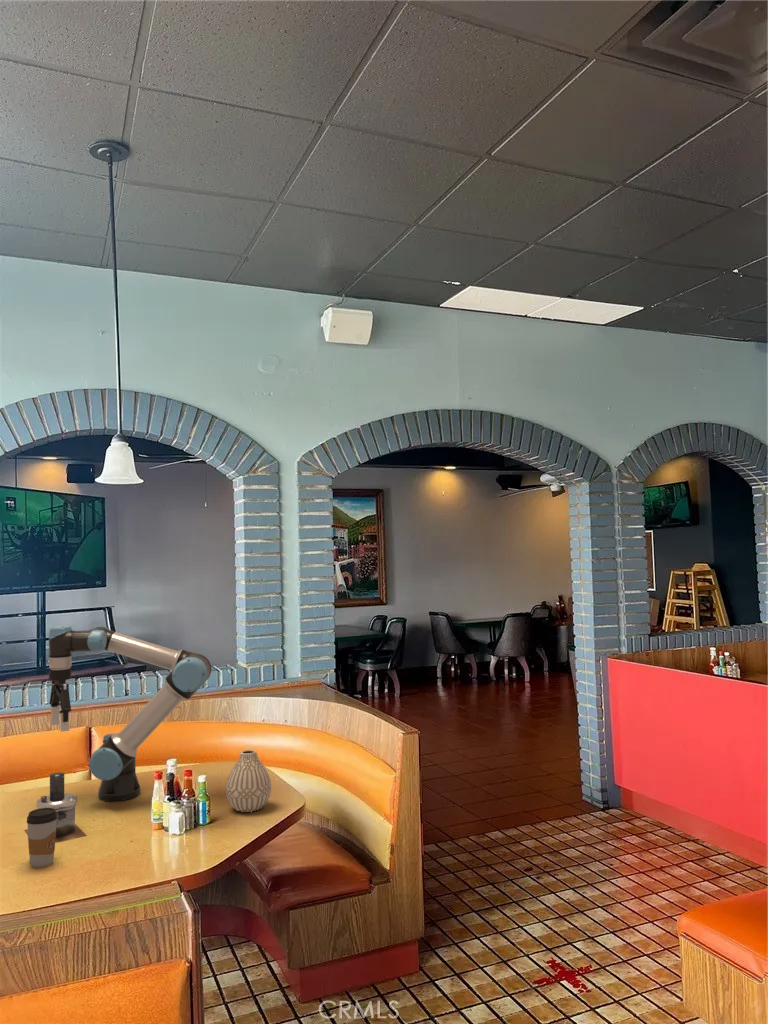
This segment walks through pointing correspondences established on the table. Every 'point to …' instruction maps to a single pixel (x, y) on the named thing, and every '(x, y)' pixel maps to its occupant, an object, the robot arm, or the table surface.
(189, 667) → the robot arm
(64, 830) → the cooker pot
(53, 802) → the lid
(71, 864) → the table surface
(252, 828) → the table surface
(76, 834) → the walnut board
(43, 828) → the coffee cup
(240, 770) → the vase
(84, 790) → the table surface
